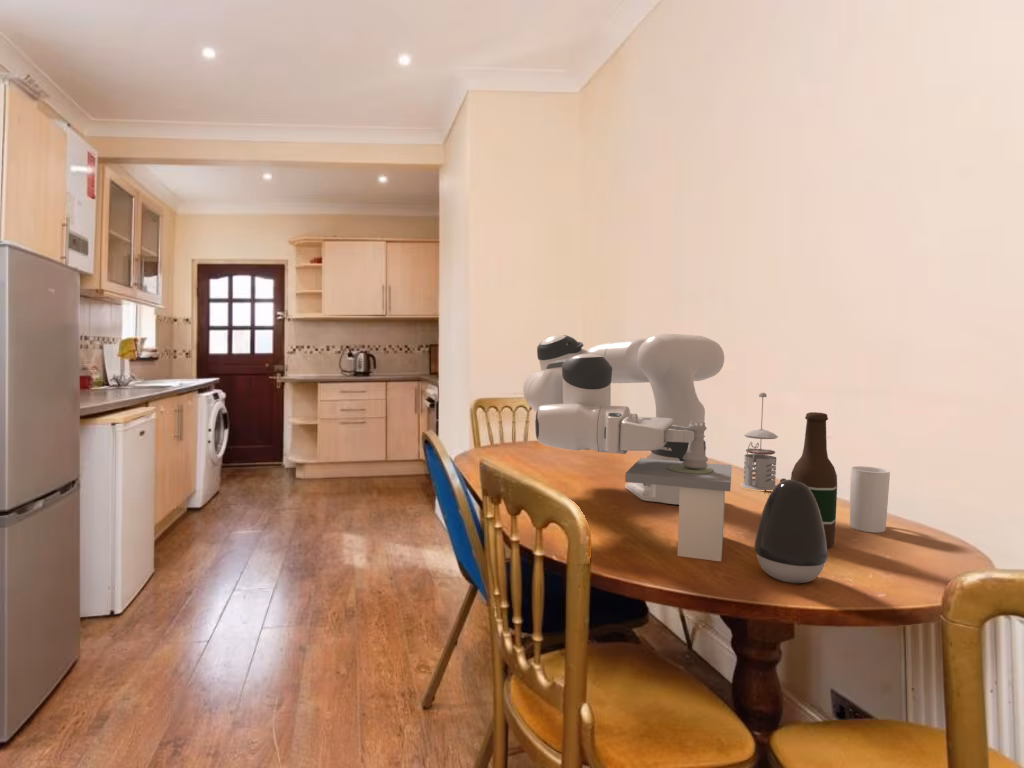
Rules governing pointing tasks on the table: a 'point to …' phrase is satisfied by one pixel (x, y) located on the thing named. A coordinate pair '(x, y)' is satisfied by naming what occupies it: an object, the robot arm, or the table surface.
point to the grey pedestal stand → (691, 502)
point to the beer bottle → (818, 472)
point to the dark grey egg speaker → (791, 534)
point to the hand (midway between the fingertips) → (695, 434)
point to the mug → (869, 498)
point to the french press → (759, 461)
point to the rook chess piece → (696, 447)
